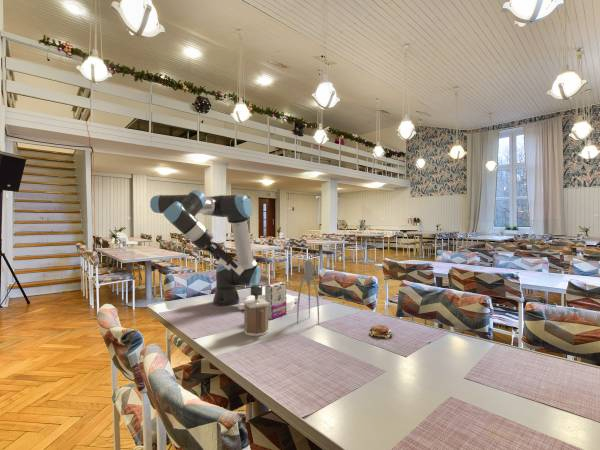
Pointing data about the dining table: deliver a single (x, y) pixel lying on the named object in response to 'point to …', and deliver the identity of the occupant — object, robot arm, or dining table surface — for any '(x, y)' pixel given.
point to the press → (256, 317)
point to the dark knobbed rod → (256, 291)
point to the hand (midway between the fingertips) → (236, 270)
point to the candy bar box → (276, 299)
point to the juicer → (308, 277)
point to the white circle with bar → (289, 299)
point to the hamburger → (380, 331)
